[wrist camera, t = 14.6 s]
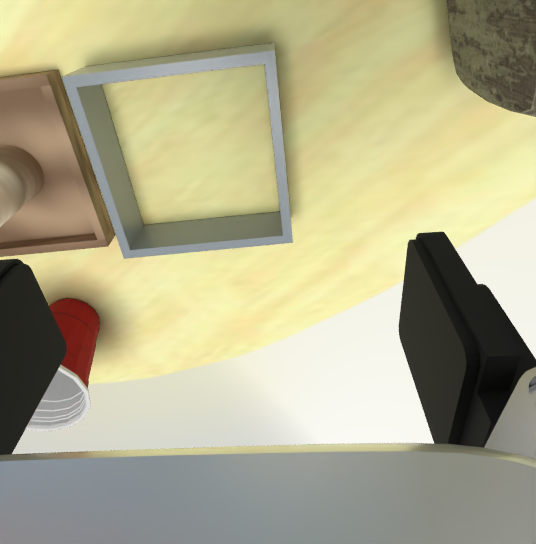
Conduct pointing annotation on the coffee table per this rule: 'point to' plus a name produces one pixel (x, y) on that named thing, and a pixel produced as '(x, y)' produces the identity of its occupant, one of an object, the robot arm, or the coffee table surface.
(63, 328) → the plastic cup
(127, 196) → the grey square frame
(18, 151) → the beige grooved cylinder
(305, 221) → the coffee table surface
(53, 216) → the tray
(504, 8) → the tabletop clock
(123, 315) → the coffee table surface
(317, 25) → the coffee table surface
